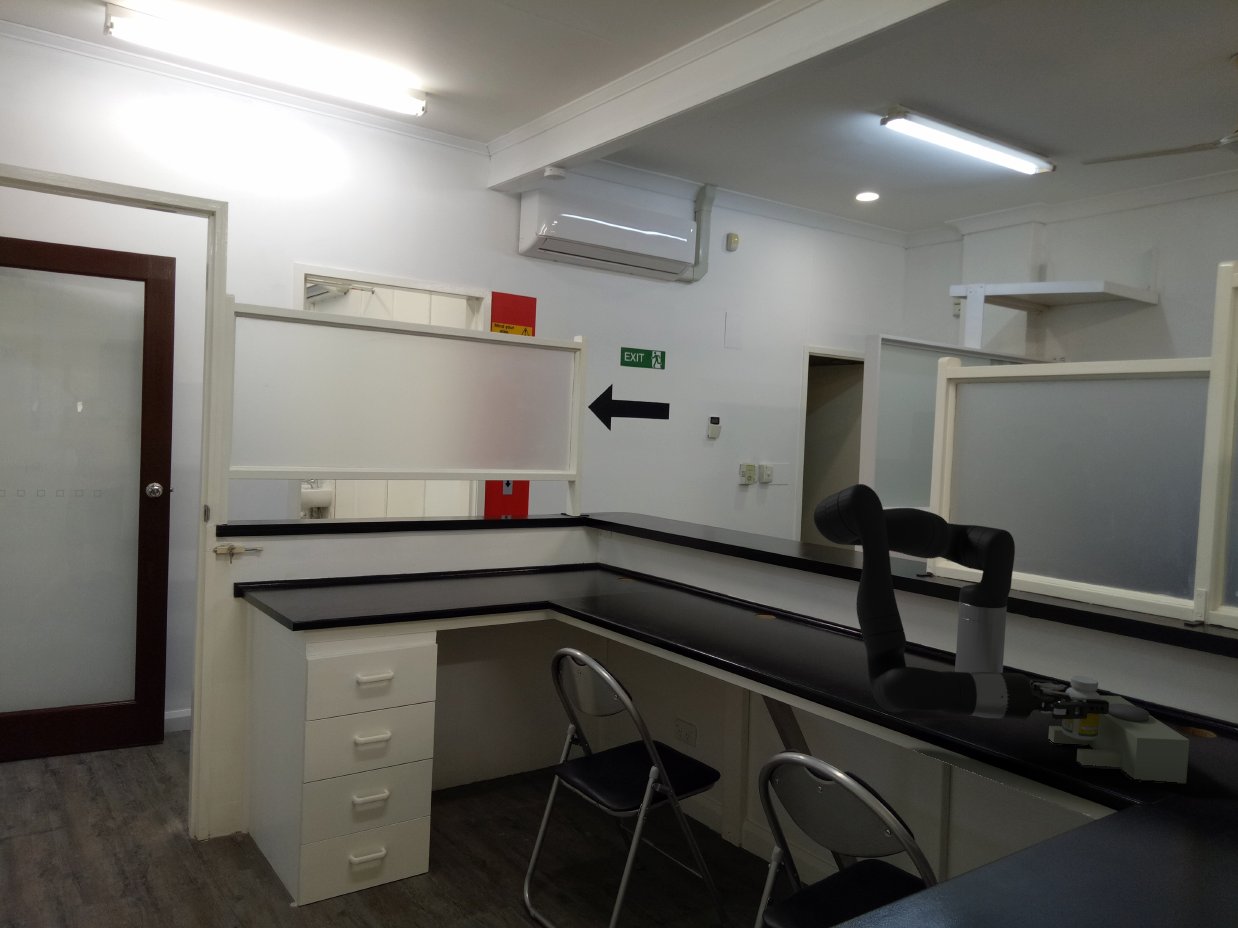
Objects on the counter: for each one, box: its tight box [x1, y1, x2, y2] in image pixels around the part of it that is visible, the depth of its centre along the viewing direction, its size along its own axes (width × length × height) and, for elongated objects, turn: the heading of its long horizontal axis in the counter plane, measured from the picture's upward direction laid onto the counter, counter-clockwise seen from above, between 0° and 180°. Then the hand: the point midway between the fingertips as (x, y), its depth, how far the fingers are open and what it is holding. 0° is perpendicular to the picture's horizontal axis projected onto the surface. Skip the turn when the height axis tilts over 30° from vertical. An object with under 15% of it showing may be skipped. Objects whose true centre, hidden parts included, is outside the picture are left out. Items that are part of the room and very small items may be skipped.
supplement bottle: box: [1061, 675, 1101, 740], centre depth 144 cm, size 5×5×10 cm
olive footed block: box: [1047, 694, 1190, 784], centre depth 145 cm, size 20×14×8 cm
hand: (1097, 700), depth 144 cm, fingers closed on supplement bottle, 5 cm apart
